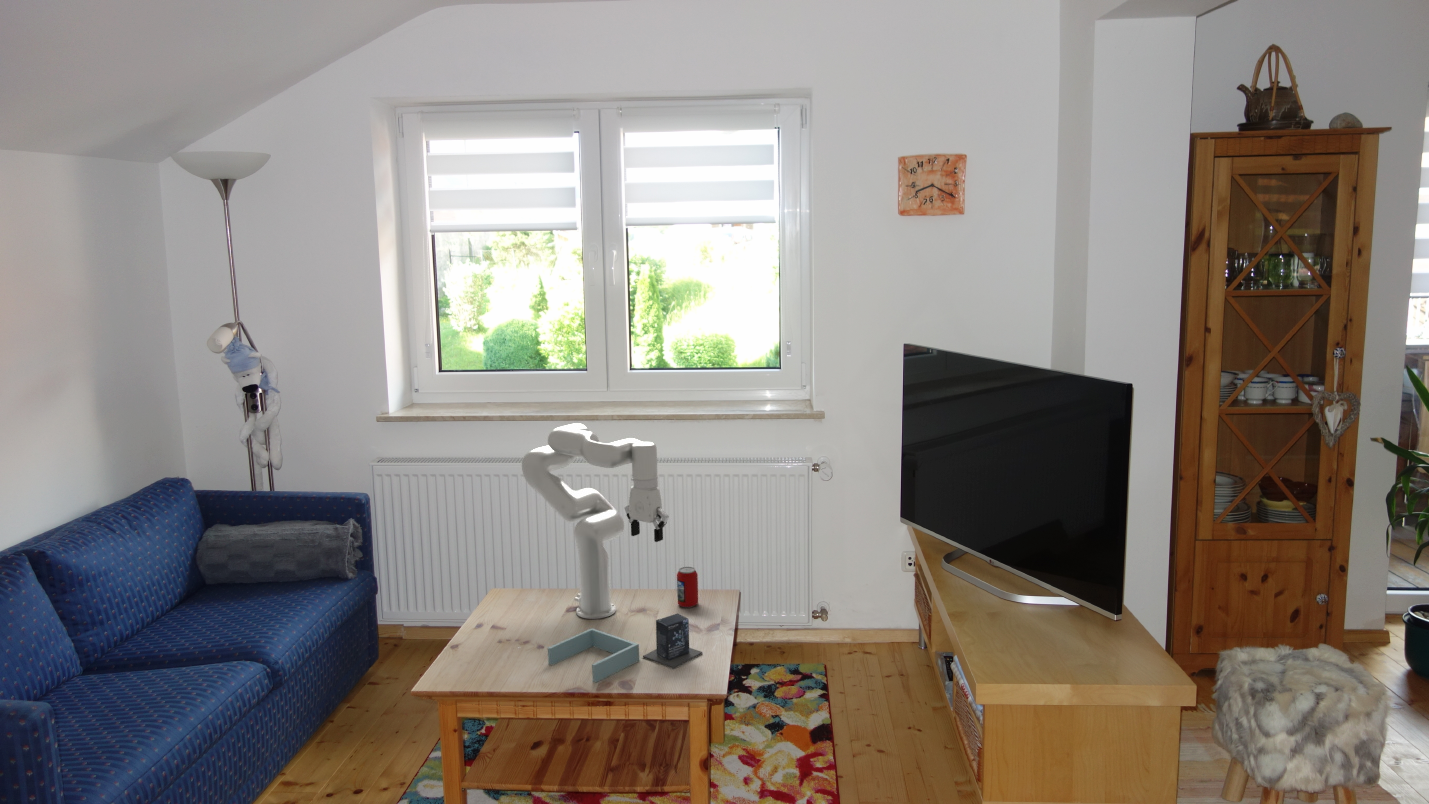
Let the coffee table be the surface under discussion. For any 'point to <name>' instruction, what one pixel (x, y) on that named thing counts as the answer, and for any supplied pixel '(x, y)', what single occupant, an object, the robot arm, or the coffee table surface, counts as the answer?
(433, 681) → the coffee table surface
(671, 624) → the box
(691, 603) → the beverage can
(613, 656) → the cubby
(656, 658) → the mat
